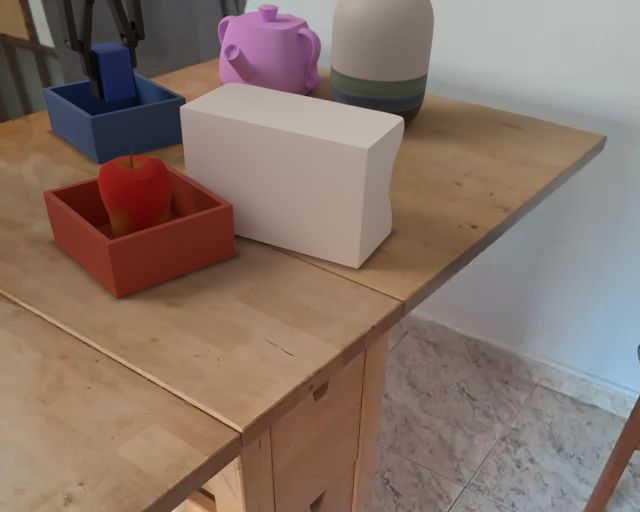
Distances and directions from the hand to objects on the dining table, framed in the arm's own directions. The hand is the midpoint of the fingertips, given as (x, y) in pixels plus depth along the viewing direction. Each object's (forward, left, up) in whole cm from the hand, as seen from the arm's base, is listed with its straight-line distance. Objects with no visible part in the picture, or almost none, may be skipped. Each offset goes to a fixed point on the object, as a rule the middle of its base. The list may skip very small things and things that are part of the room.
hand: (114, 93), depth 111 cm
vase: (+19, +41, -7) cm, 46 cm away
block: (0, 0, 0) cm, 0 cm away
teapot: (-5, +34, -7) cm, 35 cm away
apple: (+36, -16, -6) cm, 40 cm away
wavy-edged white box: (+41, +6, -7) cm, 42 cm away
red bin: (+36, -16, -7) cm, 40 cm away
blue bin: (0, 0, -7) cm, 7 cm away
